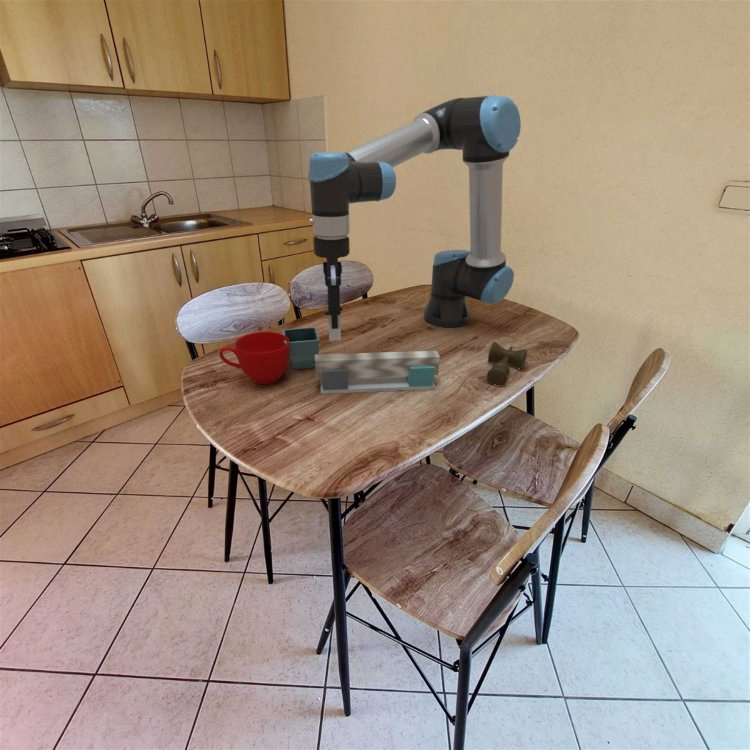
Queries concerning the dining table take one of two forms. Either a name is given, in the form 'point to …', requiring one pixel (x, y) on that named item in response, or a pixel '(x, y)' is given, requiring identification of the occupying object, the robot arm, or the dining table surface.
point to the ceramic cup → (261, 356)
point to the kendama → (503, 362)
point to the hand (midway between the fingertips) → (335, 339)
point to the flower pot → (302, 346)
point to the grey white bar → (376, 363)
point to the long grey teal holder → (376, 381)
